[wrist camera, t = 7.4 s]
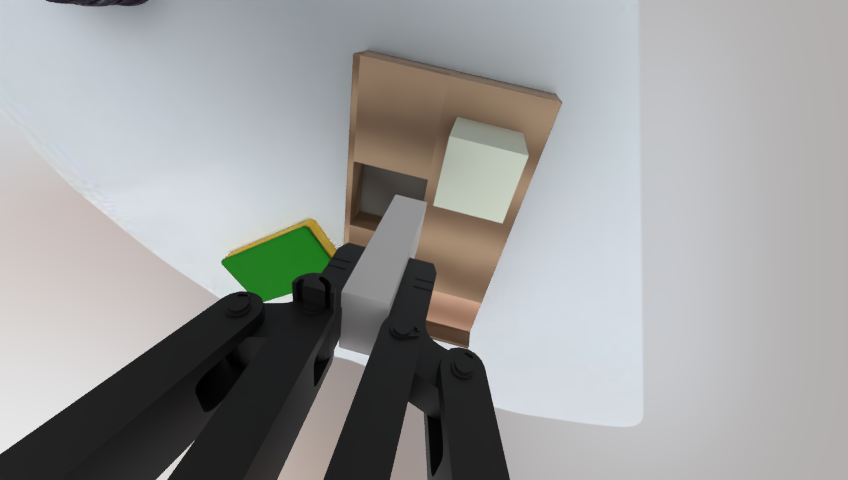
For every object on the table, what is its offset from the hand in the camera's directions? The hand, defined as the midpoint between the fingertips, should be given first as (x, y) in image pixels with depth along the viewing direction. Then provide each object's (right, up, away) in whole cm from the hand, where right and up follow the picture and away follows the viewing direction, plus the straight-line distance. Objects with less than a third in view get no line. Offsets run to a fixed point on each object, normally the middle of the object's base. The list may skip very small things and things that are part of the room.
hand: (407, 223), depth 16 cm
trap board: (+1, +2, +17) cm, 17 cm away
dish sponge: (-16, -3, +25) cm, 29 cm away
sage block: (+5, +6, +10) cm, 13 cm away
